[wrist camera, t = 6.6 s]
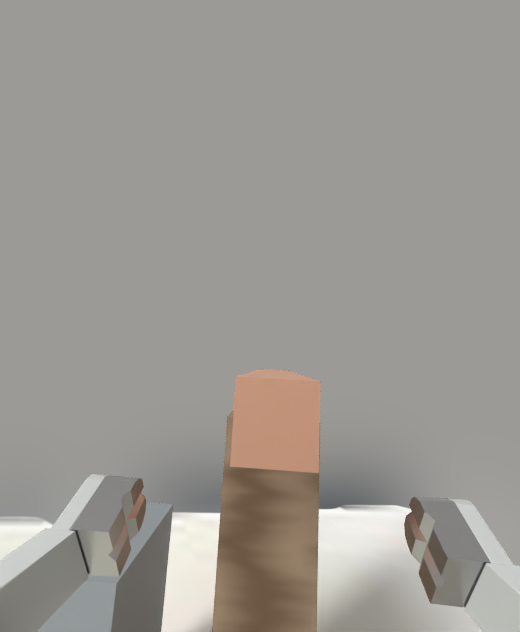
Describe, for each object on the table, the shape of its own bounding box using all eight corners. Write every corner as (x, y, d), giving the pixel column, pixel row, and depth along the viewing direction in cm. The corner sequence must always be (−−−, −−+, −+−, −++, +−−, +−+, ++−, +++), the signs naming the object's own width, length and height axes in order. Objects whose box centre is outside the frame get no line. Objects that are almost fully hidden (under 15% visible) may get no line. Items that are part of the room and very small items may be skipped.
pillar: (294, 726, 24) (303, 403, 28) (310, 979, 14) (320, 423, 18) (223, 717, 24) (242, 399, 29) (189, 959, 14) (227, 417, 19)
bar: (286, 398, 31) (287, 370, 32) (318, 473, 10) (320, 381, 10) (259, 397, 31) (260, 369, 32) (230, 466, 10) (235, 376, 10)
